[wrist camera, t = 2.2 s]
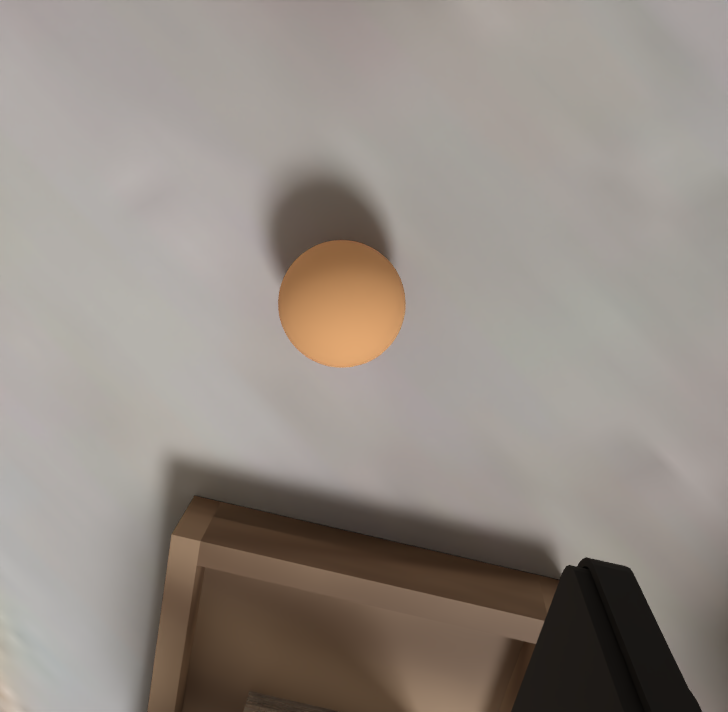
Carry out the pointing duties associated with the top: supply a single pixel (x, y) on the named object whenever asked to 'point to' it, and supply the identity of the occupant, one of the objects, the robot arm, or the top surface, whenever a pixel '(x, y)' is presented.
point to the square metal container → (277, 704)
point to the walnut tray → (336, 620)
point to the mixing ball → (341, 303)
